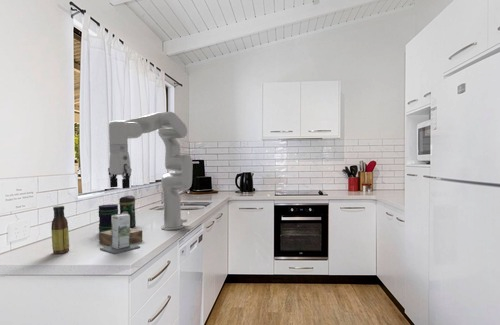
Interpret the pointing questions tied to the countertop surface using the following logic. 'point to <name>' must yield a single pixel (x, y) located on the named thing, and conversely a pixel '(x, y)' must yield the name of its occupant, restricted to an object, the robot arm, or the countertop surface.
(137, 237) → the pocket block
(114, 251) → the mat
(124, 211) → the coffee jar
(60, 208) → the sauce bottle
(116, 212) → the storage jar
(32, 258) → the countertop surface
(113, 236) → the syrup box
